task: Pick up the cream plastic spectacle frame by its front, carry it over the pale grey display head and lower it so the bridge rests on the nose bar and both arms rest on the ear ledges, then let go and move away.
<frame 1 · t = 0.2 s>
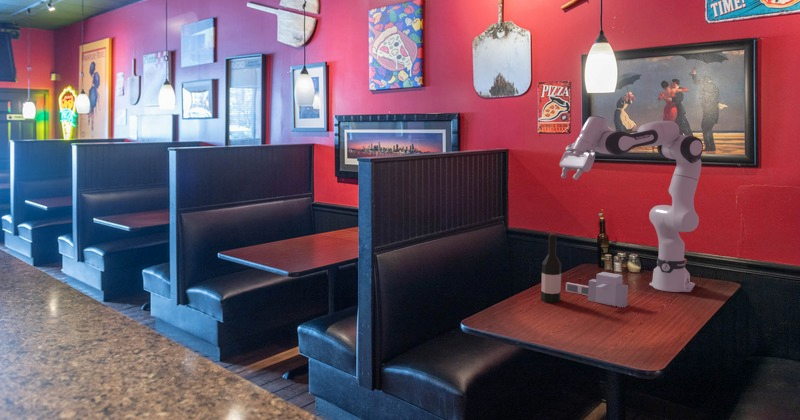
hand: (568, 178, 264), 54 cm above the table, tool tilted 30°, fingers open, 8 cm apart
glasses: (580, 293, 279), on the table
display head: (606, 303, 263), on the table
wine bottle: (550, 300, 268), on the table
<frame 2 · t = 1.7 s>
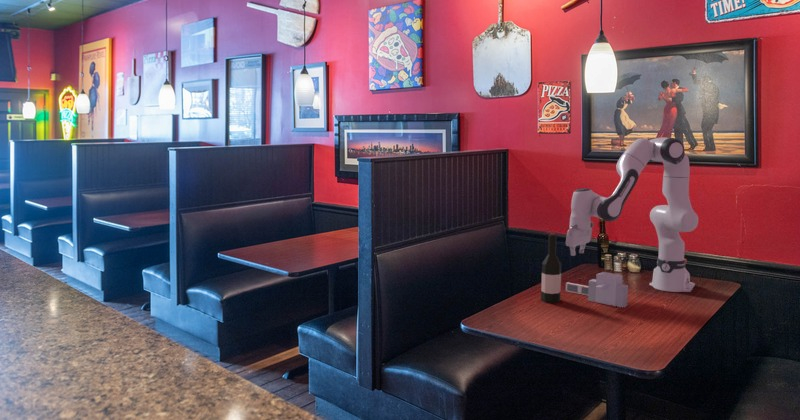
hand: (577, 254, 275), 19 cm above the table, tool pointing down, fingers open, 8 cm apart
nothing on the table moved.
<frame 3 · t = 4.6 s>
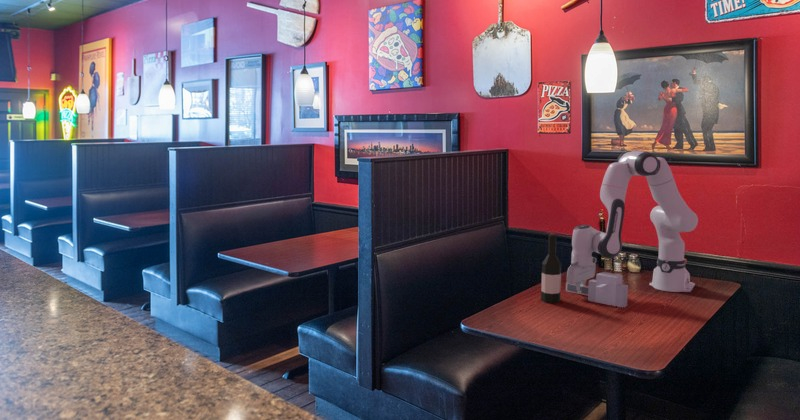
hand: (580, 290, 279), 2 cm above the table, tool pointing down, fingers closed on glasses, 2 cm apart
glasses: (580, 293, 279), on the table, touching gripper
everything else where it was.
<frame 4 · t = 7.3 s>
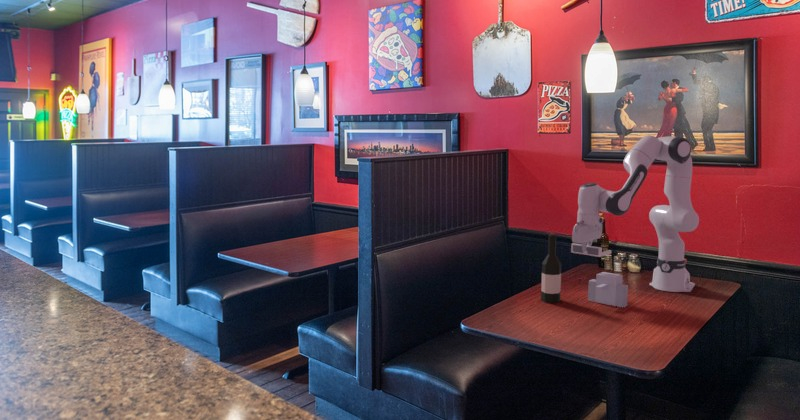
hand: (586, 250, 270), 21 cm above the table, tool pointing down, fingers closed on glasses
glasses: (586, 254, 270), point 20 cm above the table, touching gripper
everything else where it was.
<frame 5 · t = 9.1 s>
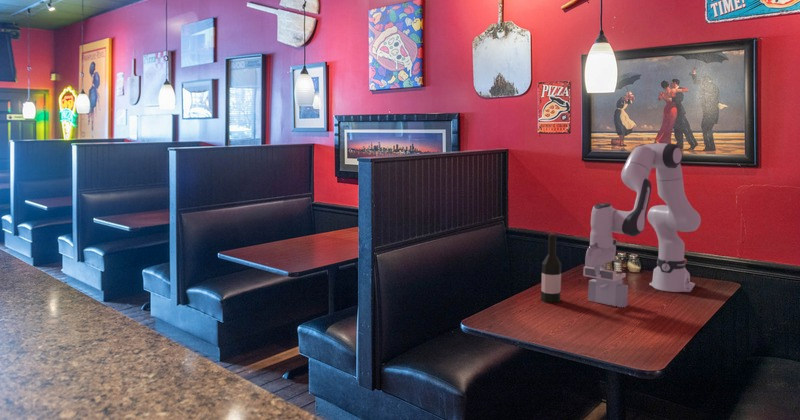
hand: (599, 274, 256), 14 cm above the table, tool pointing down, fingers closed on glasses
glasses: (599, 278, 256), point 13 cm above the table, touching gripper
everything else where it was.
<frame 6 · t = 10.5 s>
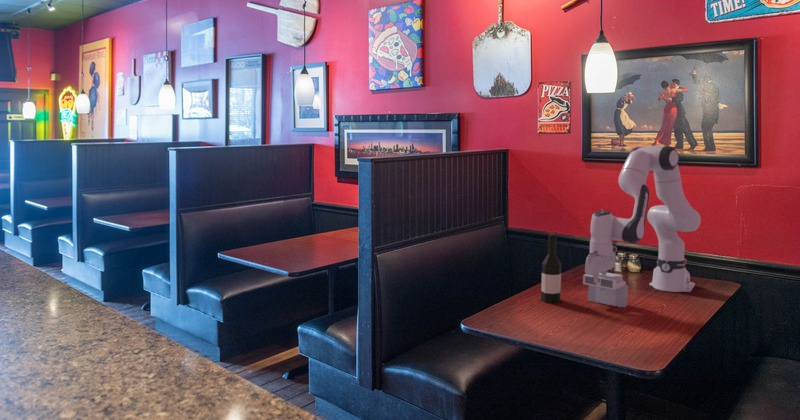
hand: (599, 281, 256), 11 cm above the table, tool pointing down, fingers open, 4 cm apart
glasses: (599, 286, 257), point 9 cm above the table, touching display head
everything else where it was.
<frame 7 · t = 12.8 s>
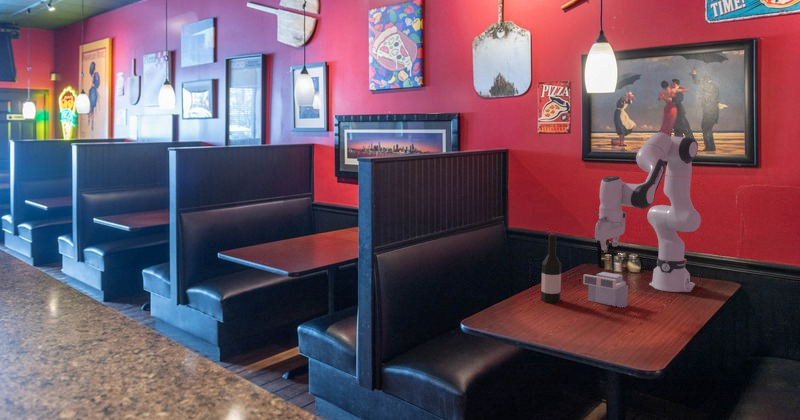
hand: (609, 248, 255), 25 cm above the table, tool pointing down, fingers open, 8 cm apart
nothing on the table moved.
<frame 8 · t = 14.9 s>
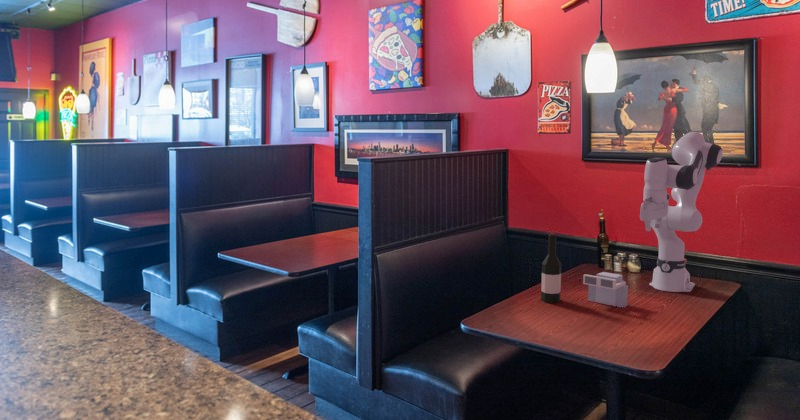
hand: (653, 229, 254), 33 cm above the table, tool pointing down, fingers open, 8 cm apart
nothing on the table moved.
at the end: glasses 0.1 cm from the target spot on the display head, point 9.0 cm above the display head's base; glasses tilted 0°; the gripper is holding nothing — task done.
